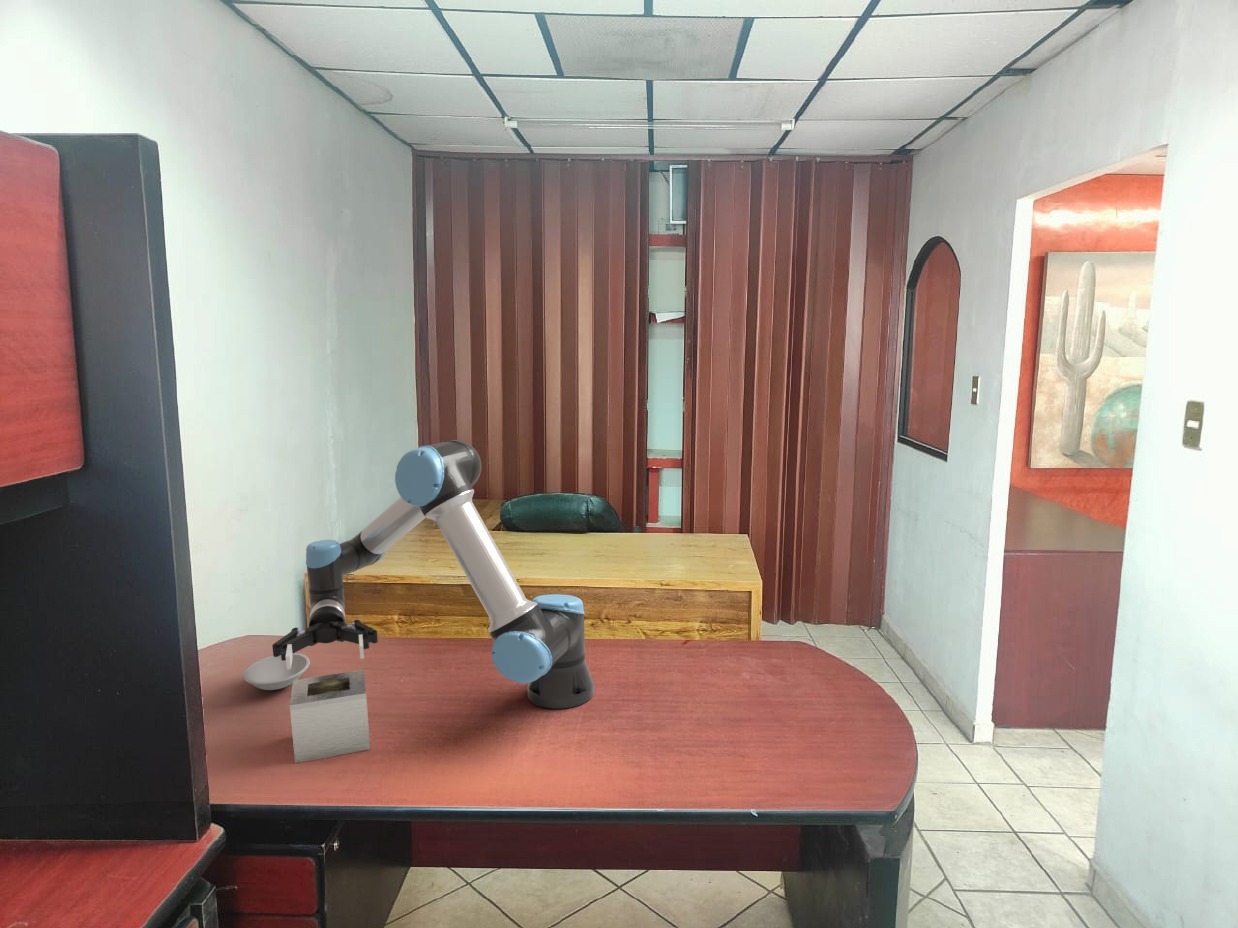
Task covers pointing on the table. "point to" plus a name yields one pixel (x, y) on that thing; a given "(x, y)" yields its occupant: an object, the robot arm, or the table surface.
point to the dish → (275, 672)
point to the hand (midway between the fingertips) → (325, 657)
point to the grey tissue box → (329, 716)
